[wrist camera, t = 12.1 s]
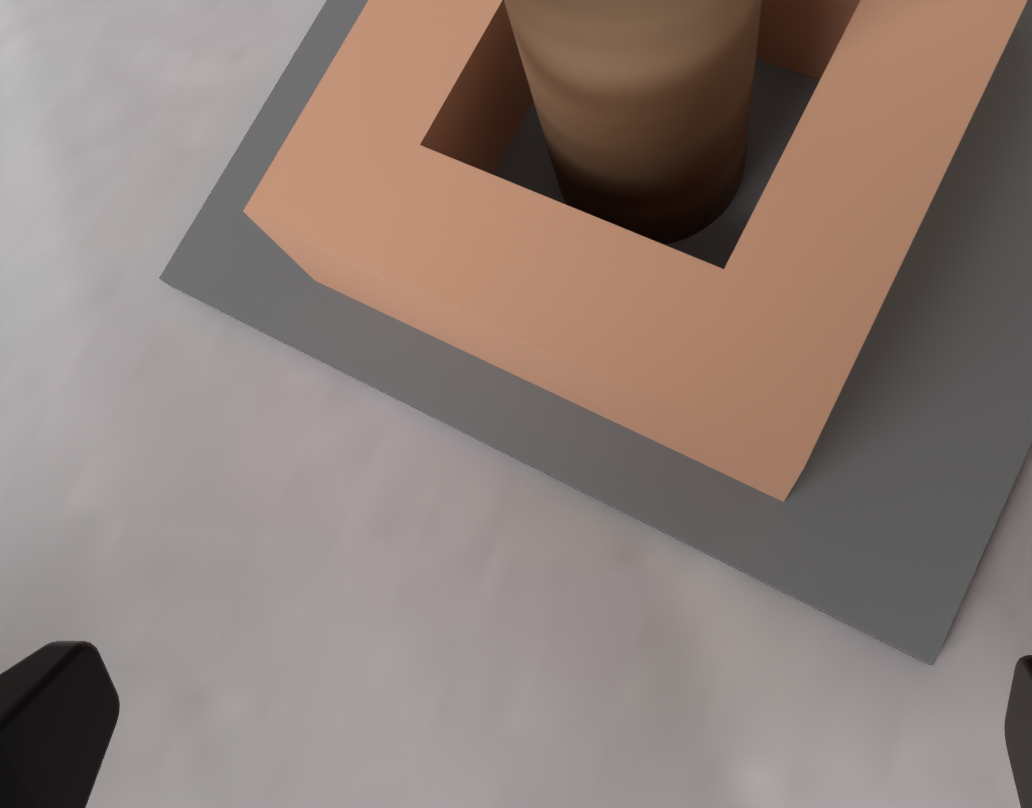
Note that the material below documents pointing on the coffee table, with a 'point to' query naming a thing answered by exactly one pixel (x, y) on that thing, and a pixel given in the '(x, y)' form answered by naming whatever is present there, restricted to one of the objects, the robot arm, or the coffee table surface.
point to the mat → (773, 118)
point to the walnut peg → (643, 104)
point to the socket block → (622, 253)
